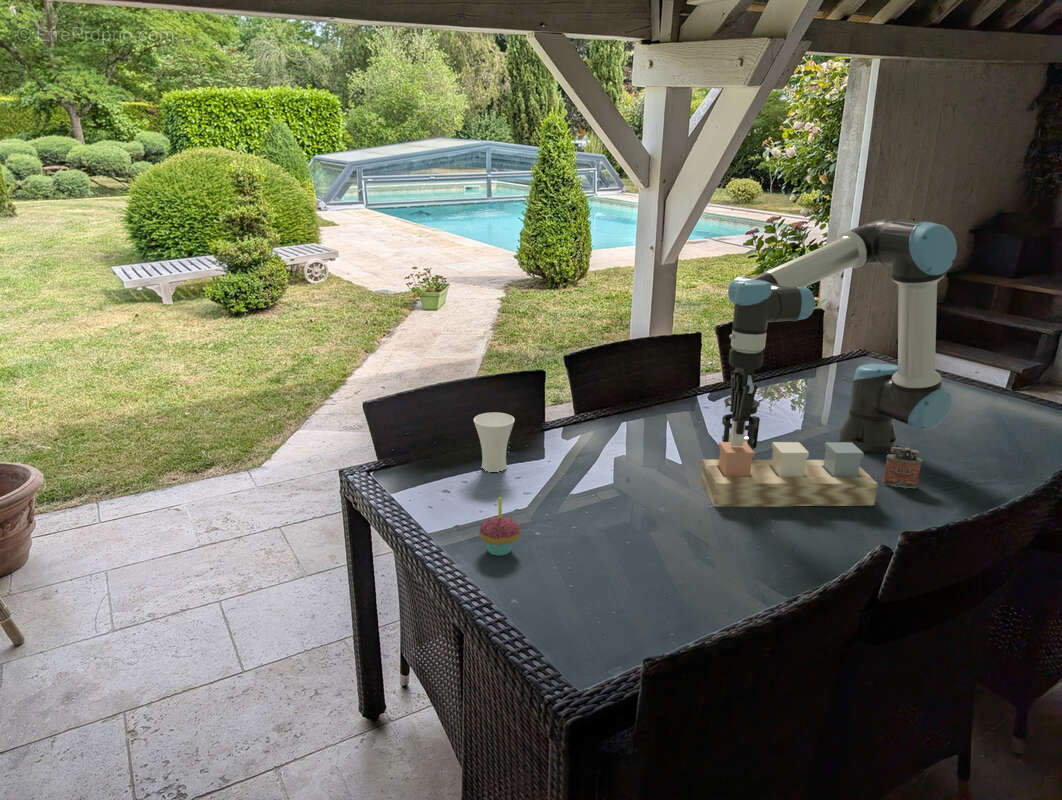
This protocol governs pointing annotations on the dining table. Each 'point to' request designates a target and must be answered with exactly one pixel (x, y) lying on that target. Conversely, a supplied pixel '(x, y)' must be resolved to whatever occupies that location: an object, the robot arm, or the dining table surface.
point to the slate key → (842, 459)
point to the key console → (786, 487)
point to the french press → (752, 427)
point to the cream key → (789, 459)
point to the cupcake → (499, 533)
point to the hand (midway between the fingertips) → (736, 444)
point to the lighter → (902, 467)
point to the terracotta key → (735, 460)
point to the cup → (494, 439)
